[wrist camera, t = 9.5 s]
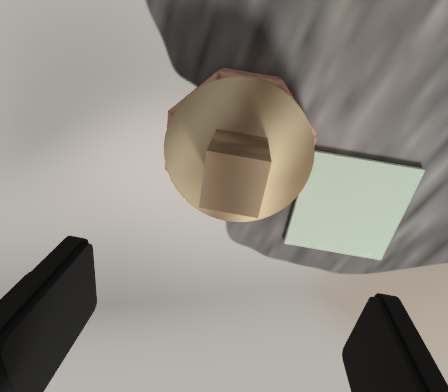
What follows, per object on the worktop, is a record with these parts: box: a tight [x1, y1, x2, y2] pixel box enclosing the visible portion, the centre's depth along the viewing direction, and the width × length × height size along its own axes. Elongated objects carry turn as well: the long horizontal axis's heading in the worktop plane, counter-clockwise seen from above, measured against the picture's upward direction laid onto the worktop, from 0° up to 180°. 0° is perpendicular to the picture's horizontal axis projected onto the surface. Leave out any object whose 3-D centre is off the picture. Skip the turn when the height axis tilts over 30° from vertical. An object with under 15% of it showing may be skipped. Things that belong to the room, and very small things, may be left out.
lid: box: [164, 76, 315, 222], centre depth 22 cm, size 12×12×6 cm
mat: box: [284, 150, 425, 260], centre depth 31 cm, size 11×11×1 cm
